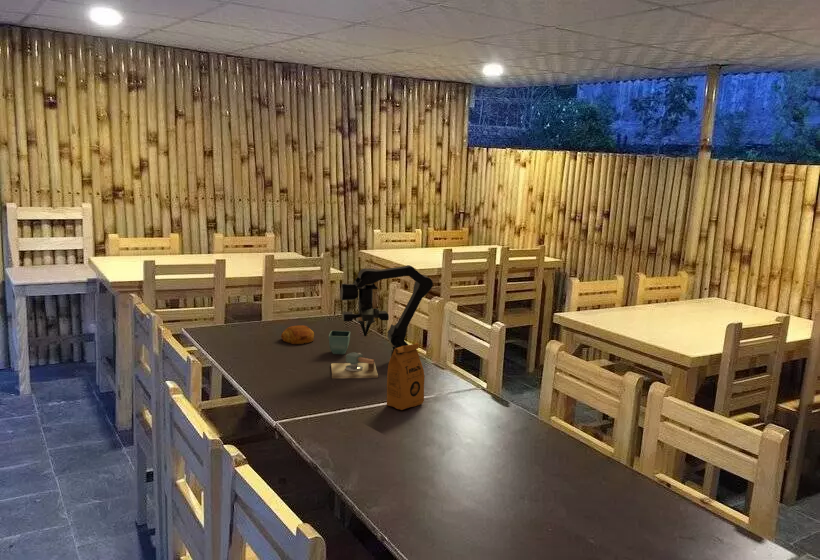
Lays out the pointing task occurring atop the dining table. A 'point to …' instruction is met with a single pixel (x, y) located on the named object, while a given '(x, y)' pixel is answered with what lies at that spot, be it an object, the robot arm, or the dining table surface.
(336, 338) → the flower pot
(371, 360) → the cap
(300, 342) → the croissant
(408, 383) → the coffee package
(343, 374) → the board
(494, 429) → the dining table surface
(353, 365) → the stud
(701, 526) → the dining table surface
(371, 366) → the block
